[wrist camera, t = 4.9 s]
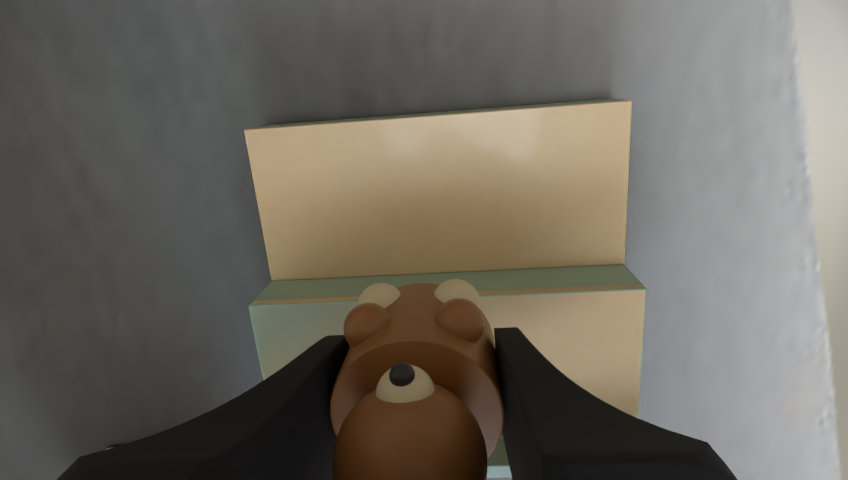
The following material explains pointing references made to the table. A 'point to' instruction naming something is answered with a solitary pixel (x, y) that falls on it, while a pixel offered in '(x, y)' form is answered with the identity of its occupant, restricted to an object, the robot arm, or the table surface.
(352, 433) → the teddy bear
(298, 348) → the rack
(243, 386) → the table surface
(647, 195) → the table surface
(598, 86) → the table surface
